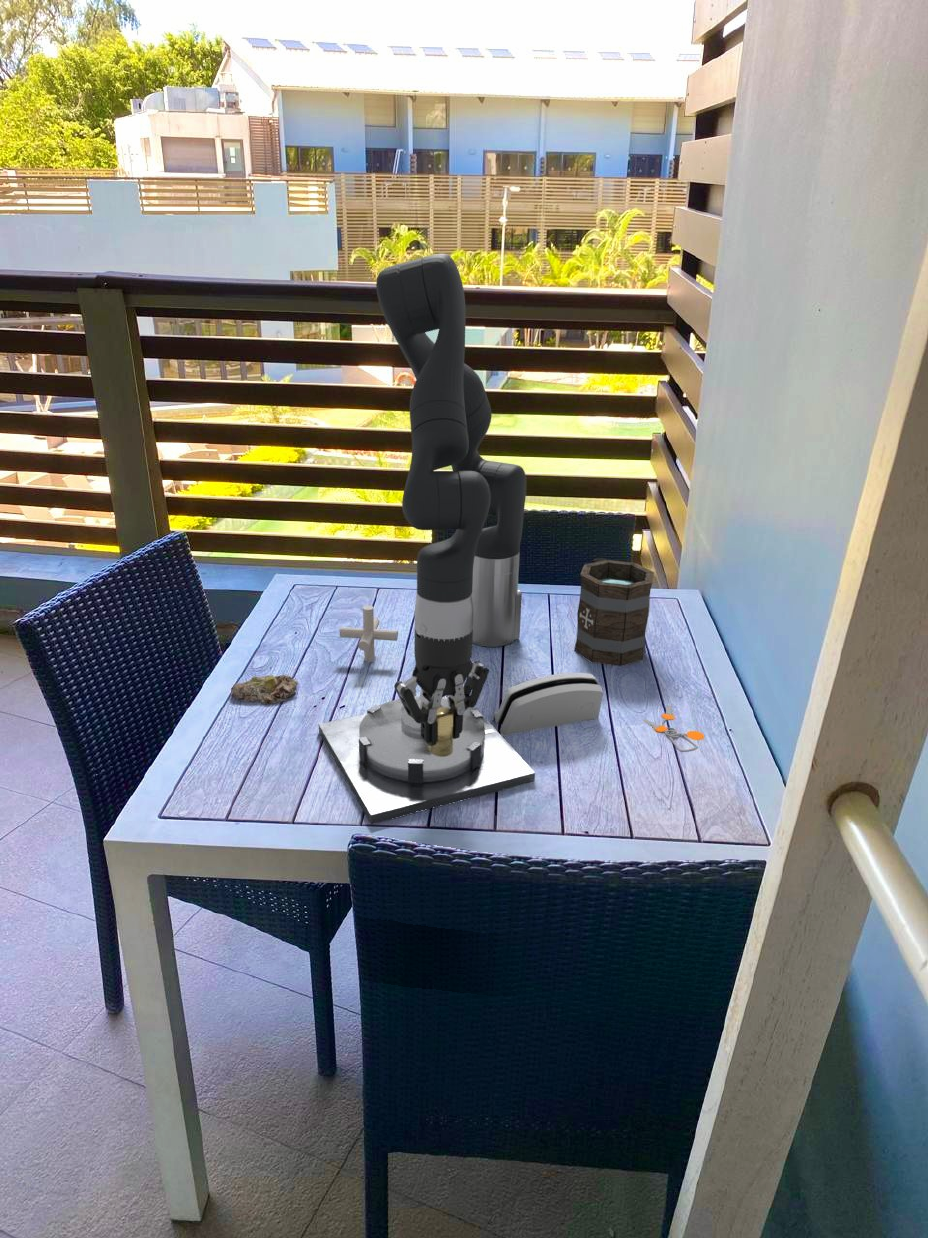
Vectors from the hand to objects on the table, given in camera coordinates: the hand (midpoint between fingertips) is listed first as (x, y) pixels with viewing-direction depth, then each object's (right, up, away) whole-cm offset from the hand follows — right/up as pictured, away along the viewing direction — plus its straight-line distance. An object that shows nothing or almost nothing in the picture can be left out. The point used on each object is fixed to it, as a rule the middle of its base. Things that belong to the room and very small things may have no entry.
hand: (441, 739), depth 118 cm
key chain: (+36, -1, +17) cm, 40 cm away
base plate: (-3, -4, +8) cm, 9 cm away
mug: (+30, +12, +44) cm, 54 cm away
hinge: (+16, 0, +17) cm, 24 cm away
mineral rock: (-30, +4, +24) cm, 38 cm away
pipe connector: (-14, +9, +36) cm, 39 cm away
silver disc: (-3, -2, +7) cm, 8 cm away
